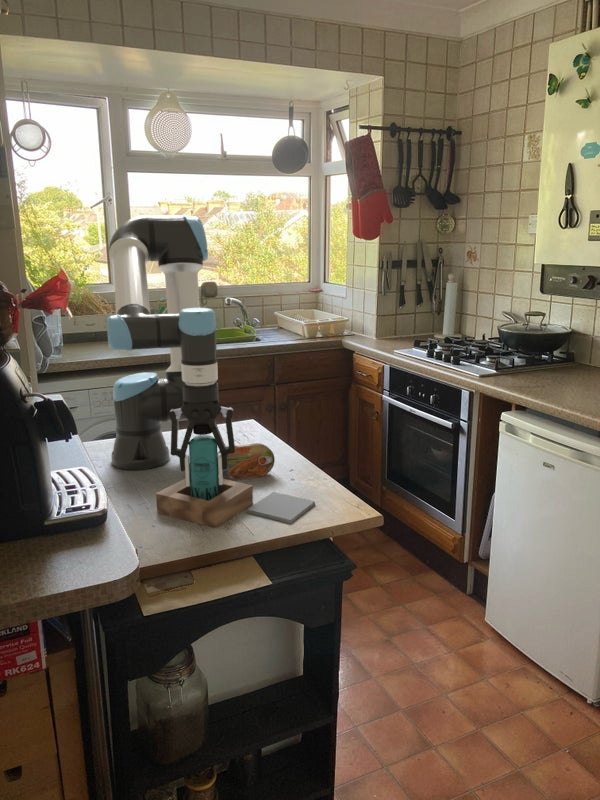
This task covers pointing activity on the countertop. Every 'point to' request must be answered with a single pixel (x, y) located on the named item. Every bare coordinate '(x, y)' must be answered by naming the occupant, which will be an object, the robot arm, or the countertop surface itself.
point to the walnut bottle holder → (205, 503)
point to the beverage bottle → (203, 464)
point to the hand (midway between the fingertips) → (204, 483)
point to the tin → (248, 462)
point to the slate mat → (281, 507)
